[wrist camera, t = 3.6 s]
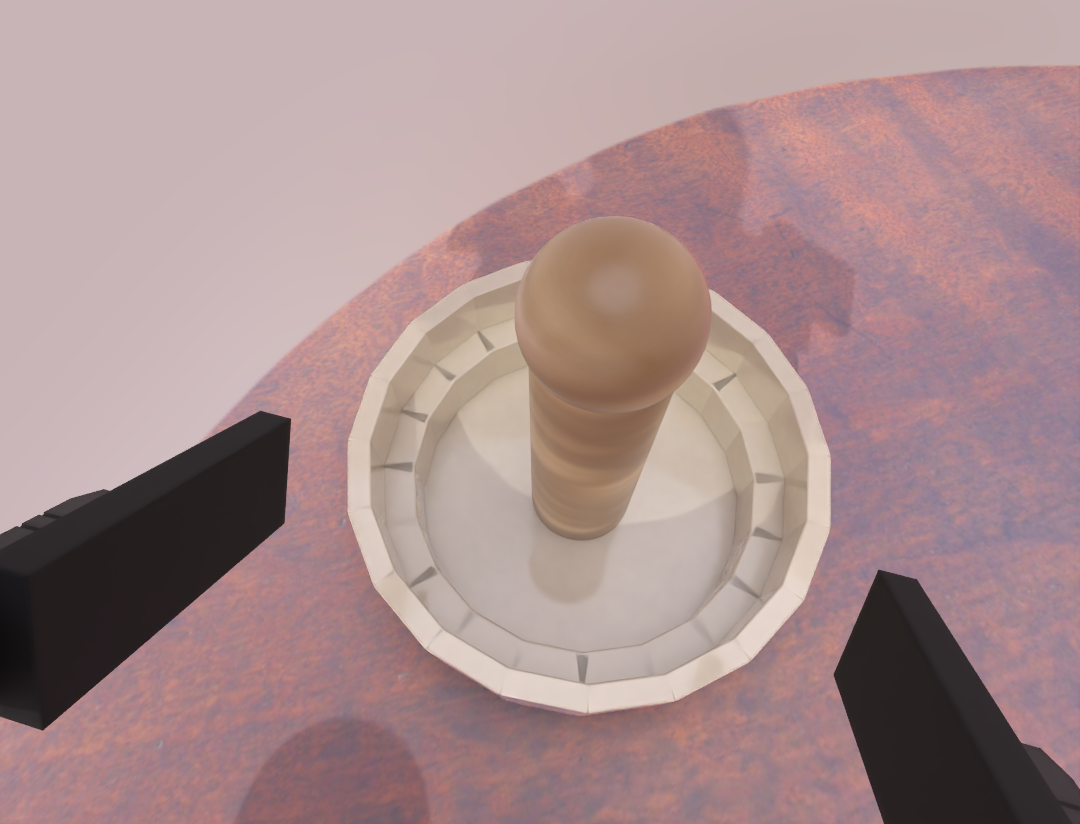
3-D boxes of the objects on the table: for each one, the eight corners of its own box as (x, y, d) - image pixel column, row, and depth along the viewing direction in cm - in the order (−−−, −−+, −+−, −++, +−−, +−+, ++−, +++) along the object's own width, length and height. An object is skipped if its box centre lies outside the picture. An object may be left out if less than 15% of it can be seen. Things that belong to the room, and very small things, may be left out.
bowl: (386, 743, 24) (346, 746, 19) (377, 350, 31) (347, 278, 26) (831, 682, 25) (904, 670, 20) (723, 313, 32) (757, 237, 27)
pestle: (531, 554, 26) (524, 362, 13) (518, 448, 28) (500, 180, 14) (645, 540, 27) (761, 337, 13) (625, 436, 29) (706, 161, 15)
